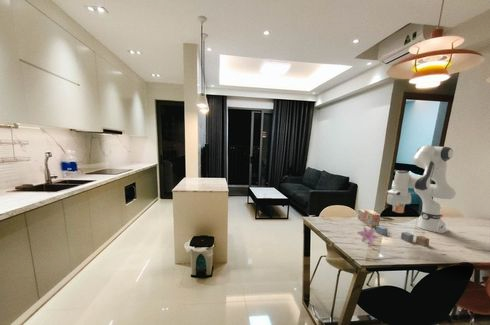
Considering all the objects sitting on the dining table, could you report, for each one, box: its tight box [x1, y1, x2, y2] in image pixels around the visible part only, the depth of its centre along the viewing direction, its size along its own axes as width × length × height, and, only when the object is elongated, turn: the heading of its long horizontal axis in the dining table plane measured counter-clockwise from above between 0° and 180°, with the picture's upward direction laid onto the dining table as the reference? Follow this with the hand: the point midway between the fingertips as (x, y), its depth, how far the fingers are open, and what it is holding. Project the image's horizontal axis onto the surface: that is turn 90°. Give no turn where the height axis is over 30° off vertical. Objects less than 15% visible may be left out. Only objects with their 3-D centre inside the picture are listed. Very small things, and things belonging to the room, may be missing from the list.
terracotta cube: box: [391, 204, 405, 214], centre depth 151 cm, size 5×5×5 cm
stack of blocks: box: [357, 208, 381, 229], centre depth 177 cm, size 21×6×12 cm, turn 179°
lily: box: [356, 226, 379, 246], centre depth 143 cm, size 12×12×10 cm
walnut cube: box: [415, 235, 430, 247], centre depth 142 cm, size 5×5×5 cm
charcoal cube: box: [400, 231, 414, 243], centre depth 148 cm, size 5×5×5 cm
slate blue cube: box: [375, 225, 388, 236], centre depth 158 cm, size 5×5×5 cm
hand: (398, 209), depth 151 cm, fingers closed on terracotta cube, 5 cm apart
